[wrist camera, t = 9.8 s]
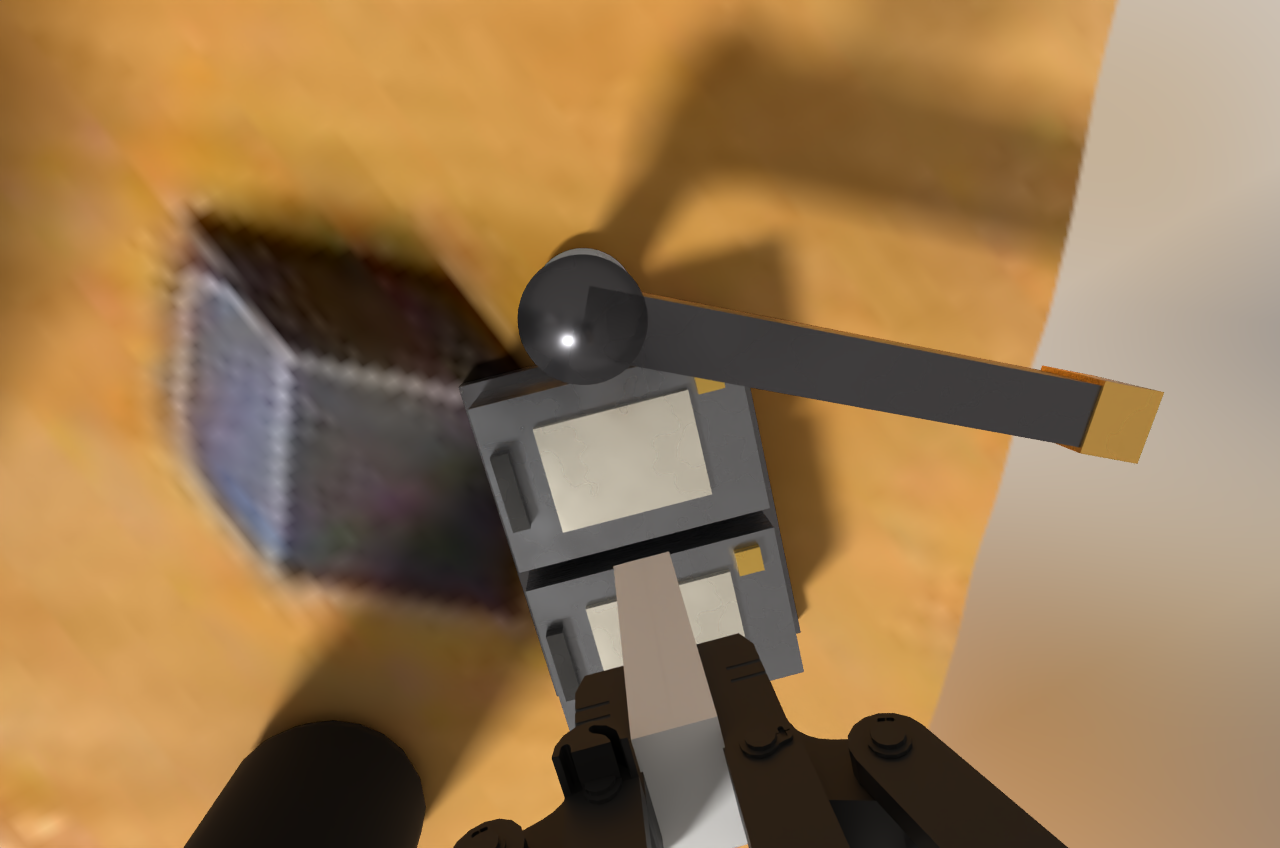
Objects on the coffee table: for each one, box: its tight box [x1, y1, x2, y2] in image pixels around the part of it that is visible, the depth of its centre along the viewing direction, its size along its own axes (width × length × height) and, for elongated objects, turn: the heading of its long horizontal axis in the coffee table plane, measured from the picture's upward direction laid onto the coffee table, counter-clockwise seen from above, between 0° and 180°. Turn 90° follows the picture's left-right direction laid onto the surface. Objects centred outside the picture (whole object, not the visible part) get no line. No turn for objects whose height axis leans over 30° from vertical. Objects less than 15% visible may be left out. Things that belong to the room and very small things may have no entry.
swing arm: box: [518, 254, 1164, 464], centre depth 26 cm, size 24×4×4 cm, turn 79°
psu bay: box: [459, 365, 804, 731], centre depth 34 cm, size 14×18×6 cm
